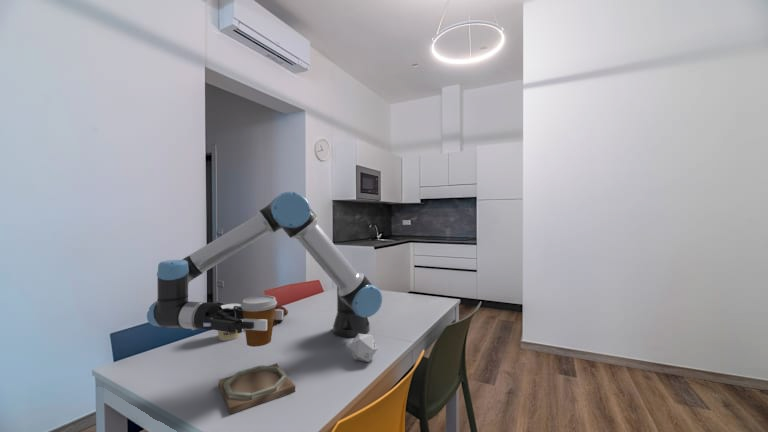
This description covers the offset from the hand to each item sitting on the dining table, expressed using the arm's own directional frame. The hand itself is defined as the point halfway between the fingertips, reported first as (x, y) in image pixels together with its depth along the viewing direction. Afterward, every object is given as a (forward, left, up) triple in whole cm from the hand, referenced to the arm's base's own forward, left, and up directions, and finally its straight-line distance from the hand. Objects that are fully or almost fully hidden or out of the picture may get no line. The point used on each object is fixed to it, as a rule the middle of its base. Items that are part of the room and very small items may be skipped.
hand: (275, 319), depth 85 cm
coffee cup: (+3, -47, -19) cm, 51 cm away
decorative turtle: (-16, -53, -19) cm, 58 cm away
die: (-29, +1, -19) cm, 34 cm away
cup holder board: (+4, -2, -18) cm, 19 cm away
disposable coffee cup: (+3, -3, -7) cm, 8 cm away
